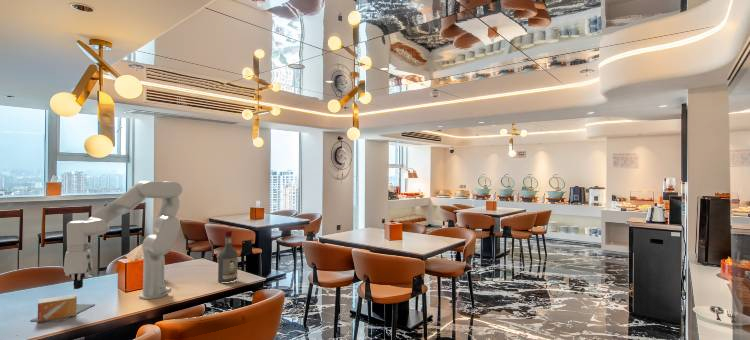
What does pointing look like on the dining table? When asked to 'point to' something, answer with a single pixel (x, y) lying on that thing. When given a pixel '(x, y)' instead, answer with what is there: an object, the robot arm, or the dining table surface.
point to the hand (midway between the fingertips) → (78, 288)
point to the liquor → (227, 261)
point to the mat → (78, 309)
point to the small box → (57, 307)
